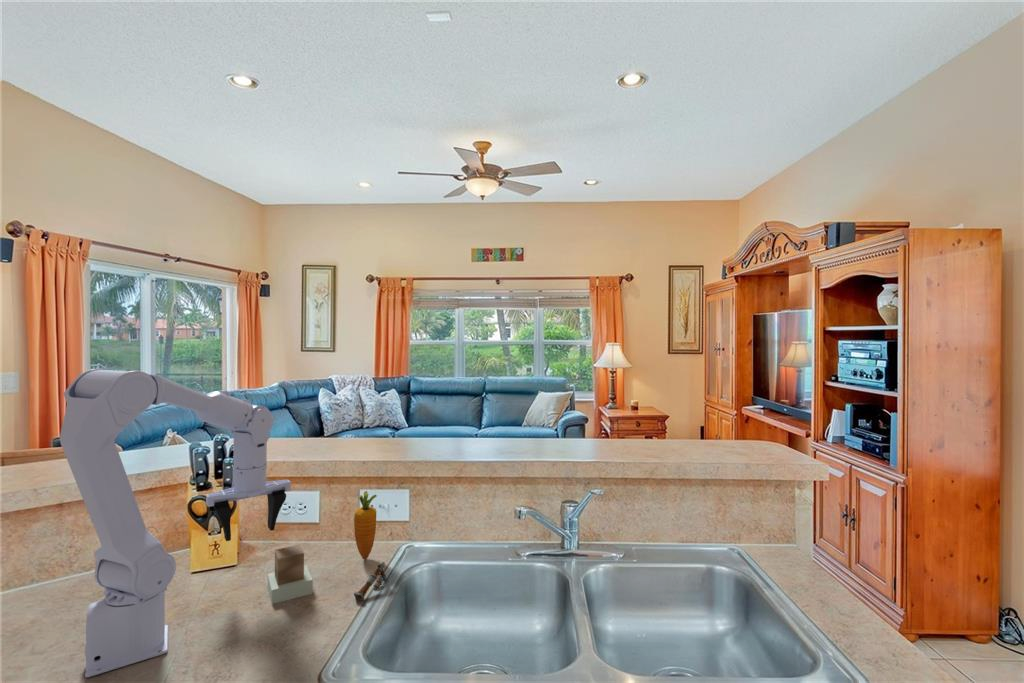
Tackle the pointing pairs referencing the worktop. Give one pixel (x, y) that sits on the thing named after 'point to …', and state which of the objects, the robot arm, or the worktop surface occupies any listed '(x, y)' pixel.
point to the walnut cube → (289, 564)
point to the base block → (289, 588)
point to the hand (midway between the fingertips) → (249, 533)
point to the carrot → (365, 526)
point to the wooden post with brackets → (370, 581)
